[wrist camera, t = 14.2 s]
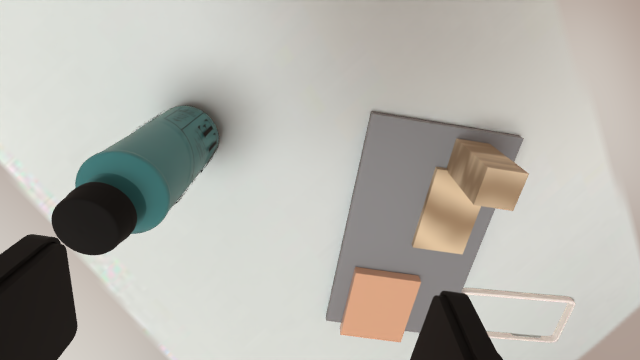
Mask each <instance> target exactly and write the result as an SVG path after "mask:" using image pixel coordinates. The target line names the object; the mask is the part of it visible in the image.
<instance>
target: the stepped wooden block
mask: <svg viewBox="0 0 640 360" xmlns="http://www.w3.org/2000/svg"><path fill="white" fill-rule="evenodd" d="M528 175H529V174H528V173H527V172H526V171H525V170H523V169H522V168H521V167H519V166H518V165H517V164H515V163H514V162H513V161H512V160H510V159H509V158H508V157H506V156H505V155H504V154H502V153H501V152H500V151H499V150H497V149H496V148H495V147H493V146H492V145H491V144H488V143H482V142H476V141H470V140H464V139H457V138H456V141H455V144H454V147H453V150H452V153H451V156H450V159H449V162H448V165H447V168H441V167H435V170H434V174H433V177H432V180H431V183H430V186H429V190H428V193H427V196H426V199H425V202H424V206H423V209H422V212H421V215H420V218H419V222H418V225H417V228H416V231H415V234H414V238H413V241H412V247H413V248H420V249H427V250H434V251H441V252H448V253H455V254H462V255H463V252H464V249H465V247H466V244H467V242H468V239H469V236H470V234H471V231H472V229H473V226H474V223H475V221H476V218H477V216H478V213H479V211H480V208H481V206H484V207H491V208H497V209H504V210H511V211H513V210H514V207H515V205H516V203H517V201H518V198H519V196H520V194H521V191H522V189H523V187H524V184H525V182H526V180H527V177H528Z"/></svg>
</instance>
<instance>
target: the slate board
mask: <svg viewBox="0 0 640 360" xmlns="http://www.w3.org/2000/svg"><path fill="white" fill-rule="evenodd" d="M456 138H457V139H464V140H470V141H476V142H482V143H488V144H491V145H492V146H493V147H495V148H496V149H497V150H499V151H500V152H501V153H502V154H504V155H505V156H506V157H508V158H509V159H510V160H512V161H513V162H514V161H515V158H516V156H517V153H518V151H519V148H520V146H521V144H522V141H523V139H524V138H522V137H520V136H518V135H512V134H506V133H500V132H493V131H487V130H481V129H475V128H469V127H463V126H457V125H450V124H444V123H438V122H432V121H426V120H420V119H414V118H408V117H401V116H395V115H389V114H383V113H377V112H371V114H370V118H369V123H368V127H367V132H366V136H365V141H364V146H363V150H362V155H361V159H360V164H359V168H358V173H357V177H356V182H355V186H354V191H353V195H352V200H351V205H350V209H349V214H348V218H347V223H346V227H345V232H344V236H343V241H342V245H341V250H340V254H339V259H338V264H337V268H336V273H335V277H334V282H333V286H332V291H331V295H330V300H329V304H328V309H327V313H326V321H334V322H342V318H343V314H344V309H345V305H346V301H347V297H348V293H349V289H350V285H351V281H352V277H353V273H354V269H355V267H360V268H367V269H374V270H381V271H389V272H396V273H403V274H410V275H417V276H419V278H420V280H421V284H420V287H419V290H418V293H417V296H416V299H415V302H414V304H413V307H412V310H411V313H410V316H409V319H408V322H407V325H406V328H405V331H411V332H419V333H420V331H421V329H422V326H423V323H424V321H425V318H426V315H427V312H428V310H429V307H430V304H431V301H432V299H433V297H434V296H435V295H438V296H439V295H440V293H441V292H442V291H451V292H458V293H461V292H462V289H463V287H464V284H465V282H466V279H467V277H468V274H469V272H470V269H471V267H472V265H473V262H474V260H475V257H476V255H477V252H478V250H479V247H480V245H481V242H482V240H483V237H484V235H485V232H486V230H487V227H488V225H489V223H490V220H491V218H492V215H493V213H494V210H495V208H491V207H484V206H481V208H480V211H479V213H478V216H477V218H476V221H475V223H474V226H473V229H472V231H471V234H470V236H469V239H468V242H467V244H466V247H465V249H464V252H463V255H462V254H455V253H448V252H441V251H434V250H427V249H420V248H413V247H412V241H413V238H414V234H415V231H416V228H417V225H418V222H419V218H420V215H421V212H422V209H423V206H424V202H425V199H426V196H427V193H428V190H429V186H430V183H431V180H432V177H433V174H434V170H435V167H441V168H447V165H448V162H449V159H450V156H451V153H452V150H453V147H454V144H455V141H456Z"/></svg>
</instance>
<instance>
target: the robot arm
mask: <svg viewBox="0 0 640 360" xmlns="http://www.w3.org/2000/svg"><path fill="white" fill-rule="evenodd" d="M76 331H77V319H76V313H75V306H74V299H73V292H72V285H71V278H70V272H69V265H68V258H67V251H66V247H65V246H64V245H62V244H61V243H60V241H59V240H58V238H55V237H48V236H41V235H34V234H31V235H27V236H25V237H24V238H22V239H21V240H20V241H18V242H17V243H15V244H14V245H13V246H11V247H10V248H9V249H7V250H6V251H4V252H3V253H2V254H0V360H57V359H58V358H59V357H60V355H61V354H62V353H63V351H64V350H65V349H66V348H67V346H68V345H69V344H70V342H71V341H72V340H73V338H74V336H75V334H76ZM410 360H503V359H502V357H501V356H500V355H499V354H498V353H497V351H496V349H495V347H494V345H493V344H492V342H491V340H490V338H489V336H488V334H487V332H486V330H485V328H484V326H483V324H482V322H481V320H480V318H479V316H478V314H477V312H476V311H475V309H474V307H473V305H472V303H471V301H470V299H469V297H468V296H467V295H466V294H465V293H458V292H451V291H442V292H441V293H440V295H439V296H438V295H435V296H434V297H433V299H432V301H431V304H430V307H429V310H428V312H427V315H426V318H425V321H424V323H423V326H422V329H421V331H420V334H419V337H418V340H417V342H416V345H415V348H414V350H413V353H412V356H411V359H410Z"/></svg>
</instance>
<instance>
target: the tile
mask: <svg viewBox="0 0 640 360" xmlns="http://www.w3.org/2000/svg"><path fill="white" fill-rule="evenodd" d="M420 284H421V280H420V278H419V276H417V275H410V274H403V273H396V272H389V271H381V270H374V269H367V268H360V267H355V269H354V273H353V277H352V281H351V285H350V289H349V293H348V297H347V301H346V305H345V309H344V314H343V318H342V322H341V326H340V335H348V336H355V337H363V338H371V339H379V340H387V341H395V342H401V339H402V336H403V334H404V331H405V328H406V325H407V322H408V319H409V316H410V313H411V310H412V307H413V304H414V302H415V299H416V296H417V293H418V290H419V287H420Z"/></svg>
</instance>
